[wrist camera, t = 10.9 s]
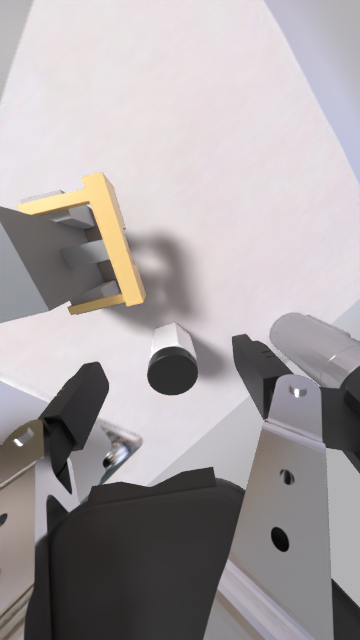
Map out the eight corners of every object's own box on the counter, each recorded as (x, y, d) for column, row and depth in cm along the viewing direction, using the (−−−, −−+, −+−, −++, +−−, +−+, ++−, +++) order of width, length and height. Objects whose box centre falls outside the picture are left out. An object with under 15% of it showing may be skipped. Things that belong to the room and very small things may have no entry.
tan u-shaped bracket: (113, 186, 21) (101, 172, 17) (146, 295, 26) (143, 302, 23) (24, 207, 21) (-6, 198, 17) (75, 312, 26) (60, 322, 23)
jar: (183, 359, 41) (190, 400, 30) (149, 354, 39) (142, 394, 28) (193, 325, 38) (205, 356, 27) (156, 318, 36) (152, 348, 25)
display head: (122, 197, 28) (67, 129, 12) (149, 287, 34) (135, 319, 18) (40, 217, 28) (-116, 176, 13) (81, 304, 34) (9, 350, 18)
